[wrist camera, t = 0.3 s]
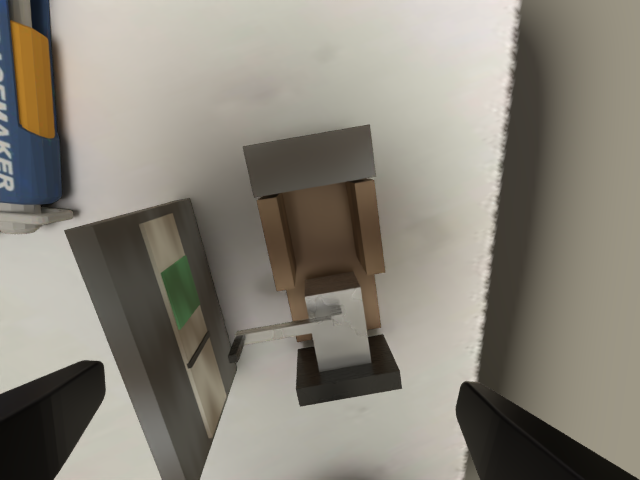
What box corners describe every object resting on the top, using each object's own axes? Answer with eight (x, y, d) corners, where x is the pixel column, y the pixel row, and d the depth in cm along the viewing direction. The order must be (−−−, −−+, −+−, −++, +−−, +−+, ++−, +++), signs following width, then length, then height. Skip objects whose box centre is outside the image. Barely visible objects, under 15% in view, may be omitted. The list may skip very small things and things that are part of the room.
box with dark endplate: (385, 349, 21) (412, 413, 15) (265, 370, 21) (251, 441, 15) (374, 267, 19) (400, 306, 14) (245, 289, 19) (222, 337, 14)
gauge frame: (380, 343, 22) (428, 457, 14) (223, 371, 22) (171, 503, 14) (353, 135, 19) (394, 108, 10) (164, 167, 19) (39, 169, 10)
